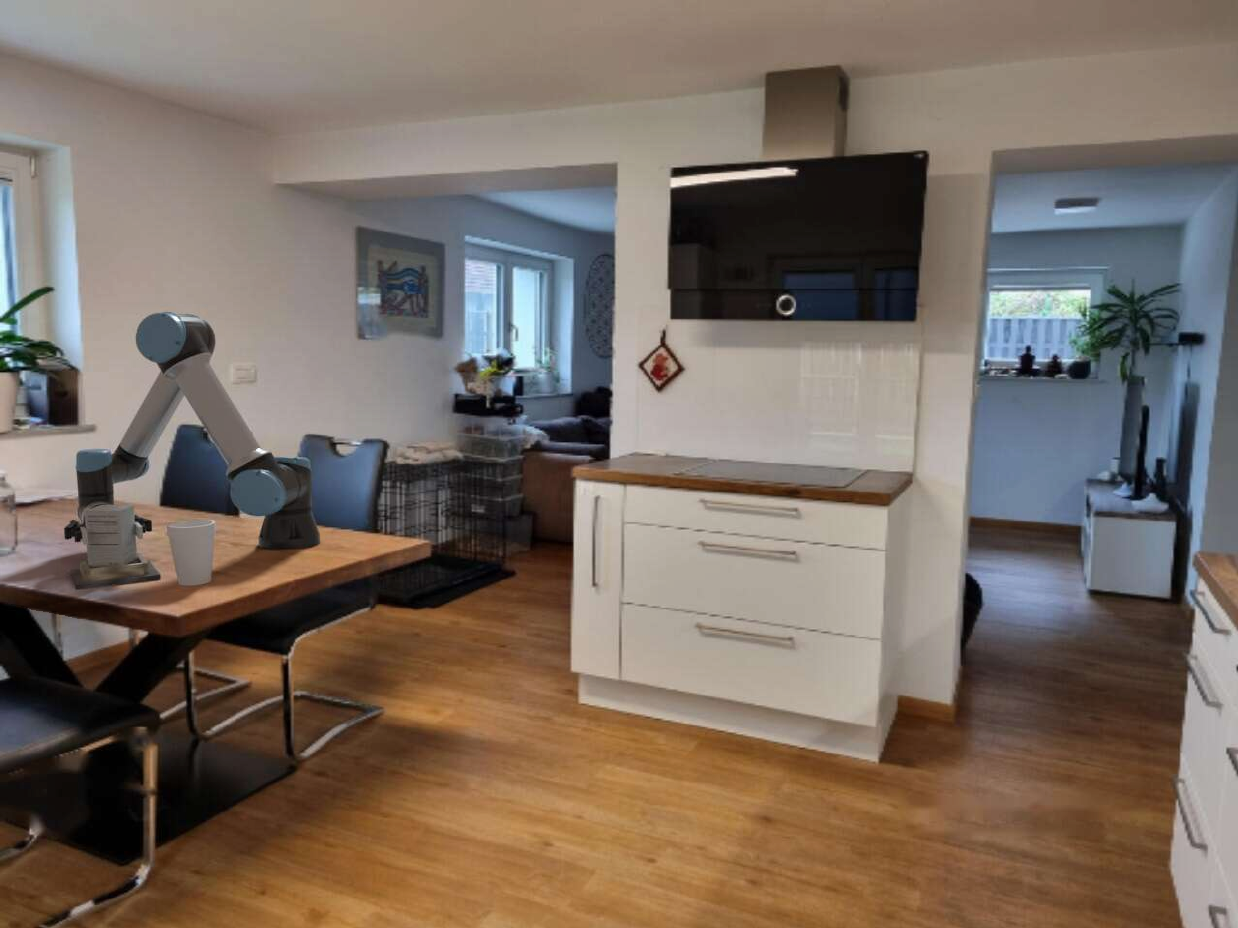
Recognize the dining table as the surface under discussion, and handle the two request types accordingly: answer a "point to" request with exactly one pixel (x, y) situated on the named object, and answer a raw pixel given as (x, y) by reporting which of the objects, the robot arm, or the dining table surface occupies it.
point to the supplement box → (110, 535)
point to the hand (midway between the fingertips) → (113, 535)
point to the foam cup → (192, 550)
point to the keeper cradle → (113, 574)
